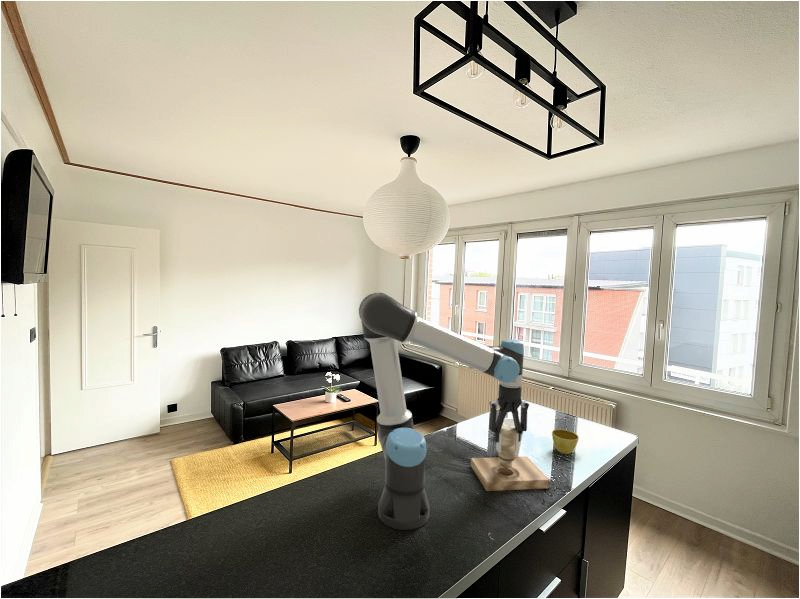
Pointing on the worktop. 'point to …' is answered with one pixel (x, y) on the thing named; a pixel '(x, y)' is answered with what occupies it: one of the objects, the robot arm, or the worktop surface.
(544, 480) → the board
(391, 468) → the robot arm
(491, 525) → the worktop surface
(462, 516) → the worktop surface
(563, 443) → the yellow bowl
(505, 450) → the peg
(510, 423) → the foam cup
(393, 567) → the worktop surface
